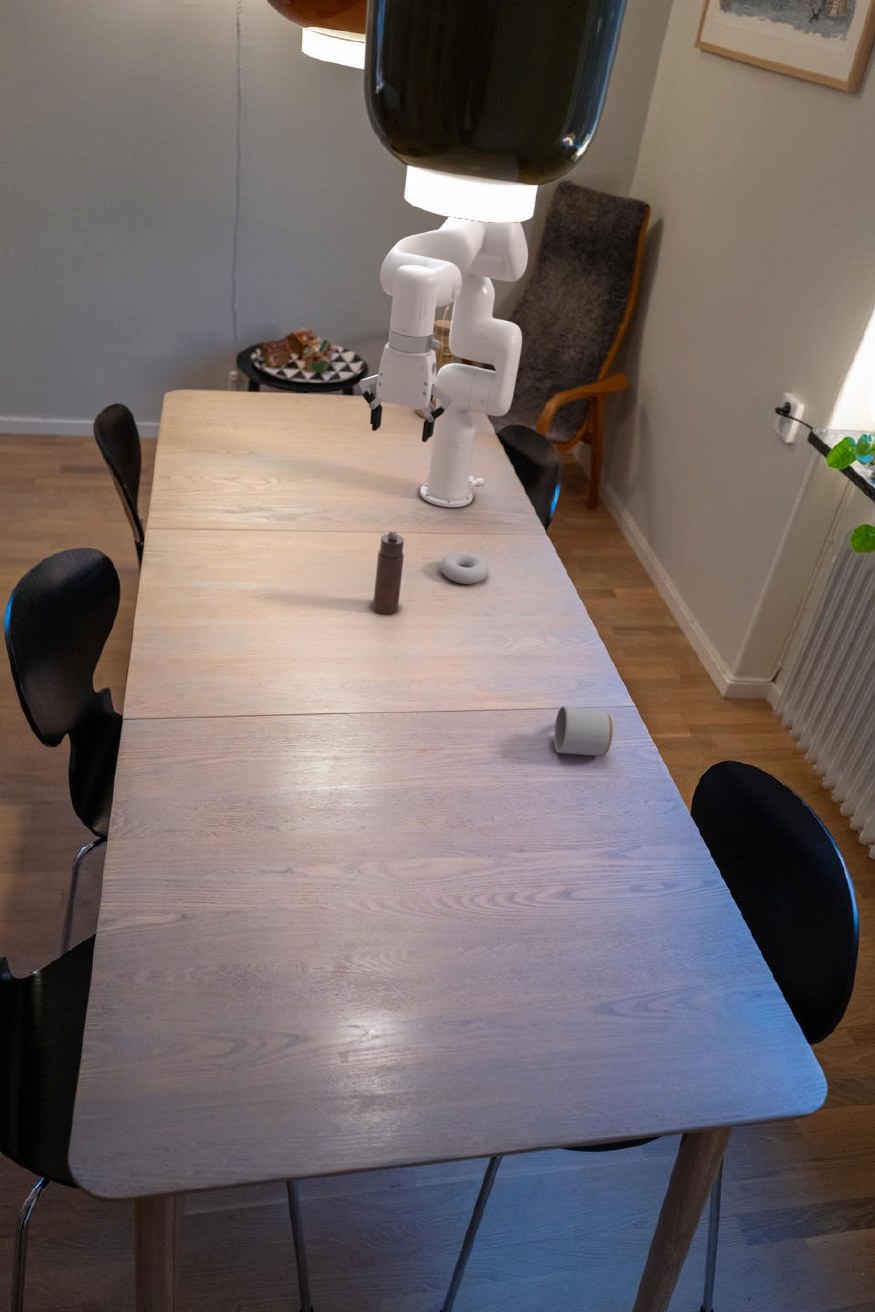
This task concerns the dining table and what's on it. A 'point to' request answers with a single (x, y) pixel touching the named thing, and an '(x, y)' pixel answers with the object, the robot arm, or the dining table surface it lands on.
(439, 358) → the lantern
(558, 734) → the ceramic mug
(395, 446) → the dining table surface
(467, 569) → the donut
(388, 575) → the pepper mill
